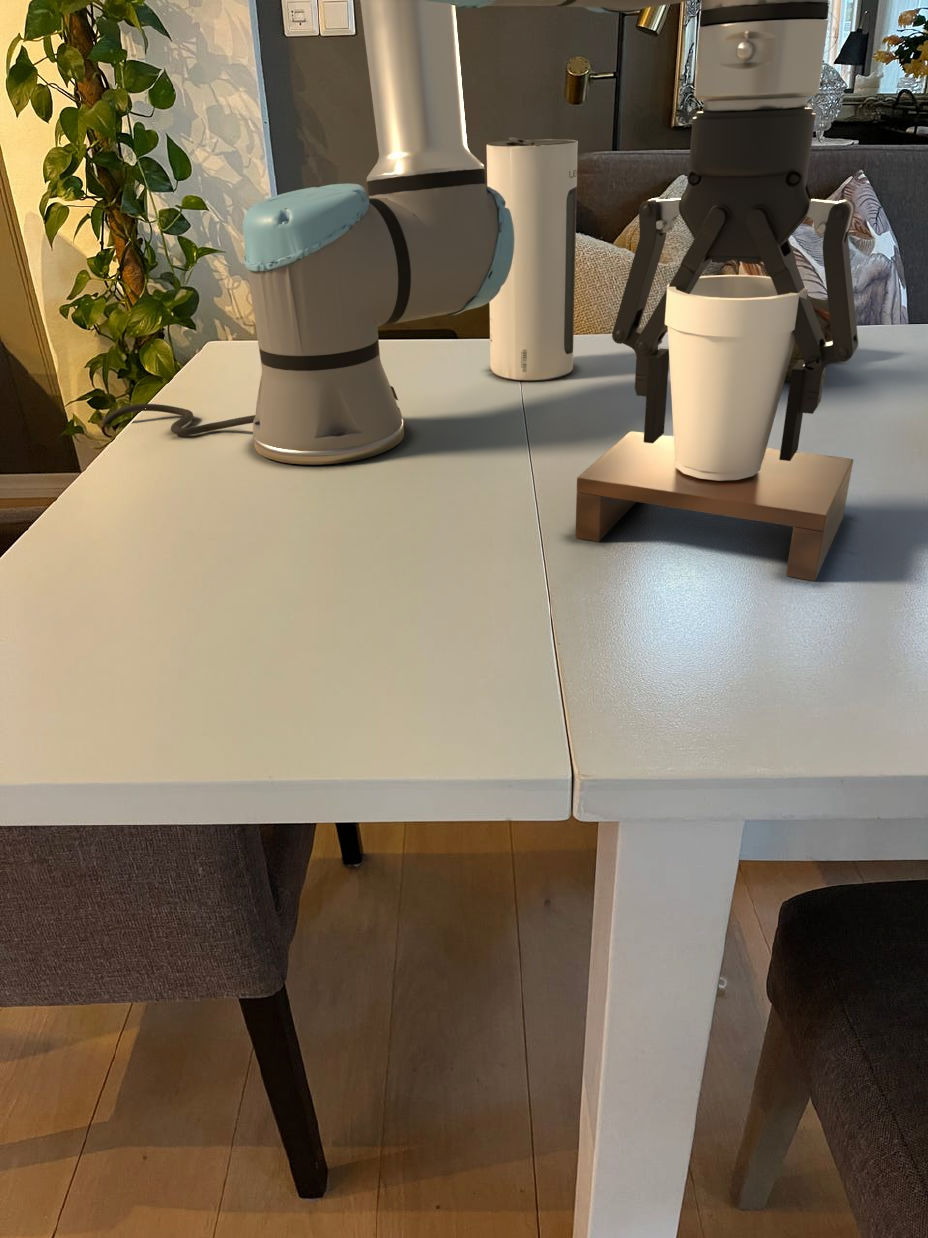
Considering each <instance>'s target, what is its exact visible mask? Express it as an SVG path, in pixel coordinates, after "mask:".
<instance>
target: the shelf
mask: <svg viewBox="0 0 928 1238" xmlns="http://www.w3.org/2000/svg"><path fill="white" fill-rule="evenodd" d="M780 452H781V449H777V448H770V447H767V448H766V451H765V455H764V459H763V462H762V463H761V468H760V471H759V472H757V473H756V474H755V475H753V476H751V477H747V478H743V479H739V480H721V481H718V480H709V479H700V478H696V477H693V476H690V475H687V474H684V473H682V472H681V471H680V470H679V469H677V468H676V460H675V451H674V435H665V434H662V435H661V436H660V437H659V438H658V439H657V440H656V441H655V442H654V443H653V444H652V443H645V442H644V432H640V431H634V430H630V431H628V432H627V433H626V434H625V435H624V436H623V437H622V438H621V439H619V440H618V441H617V442H615V444H614V445H613V446H612V447H610V448H609V449H608V450H607V451H605V453H604V454H602V455H601V456H600V457H599V458H597V460H596V461H594V463H592V464H591V465H590V466H589V467H588V468H586V469H585V470H584V471H583V472H582V473H581V474H580V475H578V476H577V477H576V499H575V501H576V503H575V535H574V536H575V538H576V539H580V540H586V541H591V542H592V541H593V542H597V543H599V542H600V541H601V540H602V539H603V538H604V537H605V536H606V535H607V534H608V533H609V532H610V531H611V530H612V529H613V527H614V526H615V525H616V524H618V522H619V521H620V520H621V519H622V518H623V517H624V516H625V515H626V514H627V513H628V512H629V511H630V509H631V508H632V507H633V506H634V505H635V504H636V503H643V504H649V505H654V506H655V505H656V506H661V507H666V508H667V507H668V508H674V509H681V510H686V511H693V512H699V513H704V514H712V515H719V516H724V517H730V518H736V519H743V520H750V521H754V522H755V521H757V522H763V523H769V524H773V525H774V524H775V525H780V526H781V525H782V526H788V527H792V534H791V541H790V546H789V552H788V553H789V554H788V559H787V566H786V573H785V576H786V577H790V578H795V579H800V580H806V581H812V582H816V580H817V578H818V575H819V573H820V571H821V569H822V566H823V564H824V562H825V559H826V557H827V555H828V553H829V550H830V548H831V546H832V544H833V541H834V539H835V536H836V534H837V532H838V530H839V528H840V526H841V524H842V521H843V520H844V514H845V509H846V504H847V497H848V492H849V487H850V481H851V476H852V470H853V465H854V458H849V457H843V456H842V457H841V456H834V455H826V454H817V453H809V452H801V451H796V453H795V454H794V456H793V457H792V459H791V461H785V460H779V459H780Z"/></svg>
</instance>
